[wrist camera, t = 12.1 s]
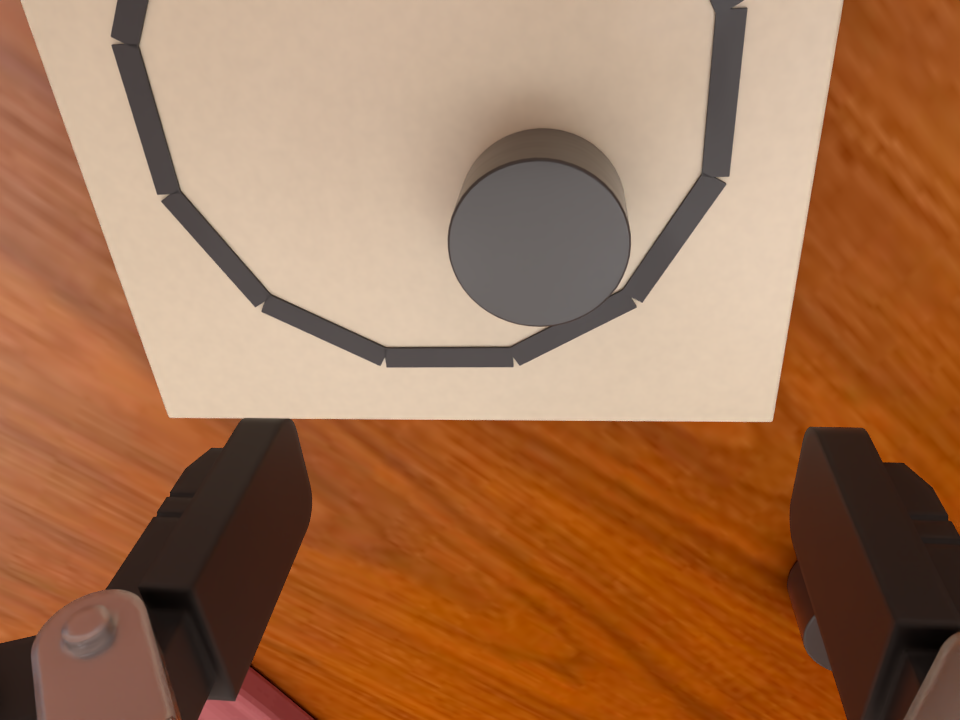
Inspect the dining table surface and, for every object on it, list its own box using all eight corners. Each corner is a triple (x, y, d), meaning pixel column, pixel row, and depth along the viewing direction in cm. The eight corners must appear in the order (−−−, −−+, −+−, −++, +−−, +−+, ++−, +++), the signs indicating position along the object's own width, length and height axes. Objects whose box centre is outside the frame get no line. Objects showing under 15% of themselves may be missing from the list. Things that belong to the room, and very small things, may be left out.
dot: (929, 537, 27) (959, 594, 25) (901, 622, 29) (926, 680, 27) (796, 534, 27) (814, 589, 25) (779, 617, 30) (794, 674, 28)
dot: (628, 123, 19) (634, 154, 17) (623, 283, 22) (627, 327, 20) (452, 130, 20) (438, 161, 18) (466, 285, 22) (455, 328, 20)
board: (909, -486, 14) (933, -510, 13) (766, 404, 25) (774, 425, 24) (-78, -355, 16) (-117, -369, 16) (180, 402, 27) (166, 420, 26)
